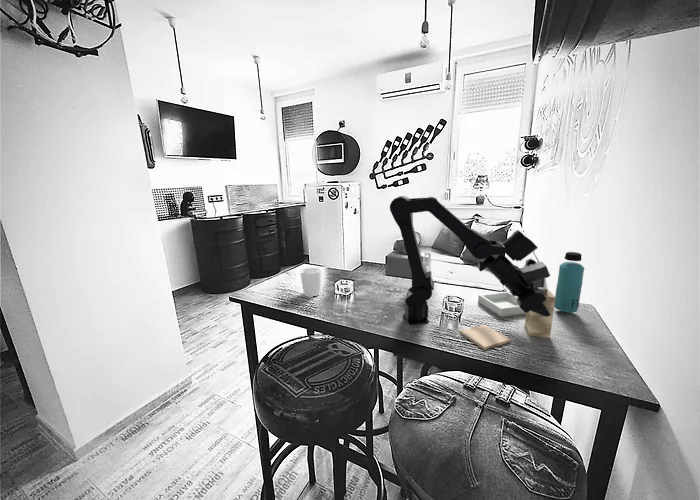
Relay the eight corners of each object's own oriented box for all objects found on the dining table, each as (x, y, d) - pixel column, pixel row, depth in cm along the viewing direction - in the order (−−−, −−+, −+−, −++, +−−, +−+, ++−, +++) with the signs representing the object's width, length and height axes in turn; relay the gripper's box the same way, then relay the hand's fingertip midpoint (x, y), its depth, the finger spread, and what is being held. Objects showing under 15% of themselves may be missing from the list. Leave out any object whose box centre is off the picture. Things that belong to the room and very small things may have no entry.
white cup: (326, 292, 117) (324, 269, 114) (313, 299, 110) (311, 274, 108) (311, 289, 121) (309, 266, 119) (298, 295, 115) (296, 272, 112)
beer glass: (430, 294, 112) (432, 256, 108) (412, 293, 113) (413, 256, 110) (429, 287, 118) (430, 252, 115) (412, 286, 120) (412, 251, 116)
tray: (500, 317, 92) (501, 308, 91) (477, 302, 103) (478, 294, 102) (532, 313, 94) (533, 304, 93) (506, 299, 105) (507, 291, 104)
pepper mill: (529, 335, 81) (534, 291, 78) (524, 326, 86) (529, 285, 83) (549, 337, 80) (556, 293, 76) (543, 328, 84) (549, 286, 81)
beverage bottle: (570, 319, 89) (580, 256, 84) (548, 310, 95) (556, 252, 90) (581, 314, 92) (592, 253, 87) (559, 306, 98) (568, 249, 93)
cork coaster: (484, 349, 75) (484, 347, 75) (460, 333, 83) (460, 330, 83) (510, 342, 78) (510, 339, 78) (484, 326, 86) (484, 324, 86)
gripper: (541, 262, 70) (588, 309, 69) (521, 245, 87) (559, 282, 86) (502, 290, 74) (546, 334, 73) (490, 268, 91) (526, 304, 91)
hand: (545, 311), depth 81 cm, fingers closed on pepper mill, 5 cm apart
